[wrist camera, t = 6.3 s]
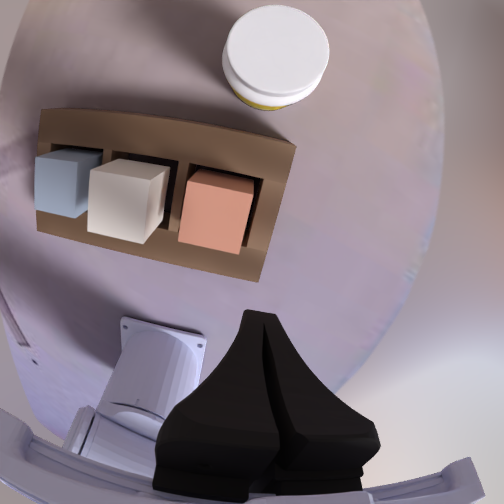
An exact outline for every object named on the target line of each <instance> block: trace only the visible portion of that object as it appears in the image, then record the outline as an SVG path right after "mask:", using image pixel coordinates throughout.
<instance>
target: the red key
mask: <svg viewBox="0 0 504 504" xmlns="http://www.w3.org/2000/svg"><path fill="white" fill-rule="evenodd" d="M253 195H254V180H251V179H246V178H242V177H237V176H233V175H228V174H224V173H219V172H214V171H209V170H204V169H199V170H198V171H197V172H196V173H195V174H194V175H193V176H192V177H191V178H190V179H189V180H188V181H187V187H186V193H185V198H184V204H183V210H182V217H181V223H180V230H179V237H178V241H179V242H183V243H188V244H192V245H197V246H202V247H206V248H211V249H215V250H220V251H225V252H229V253H234V254H238V255H239V252H240V248H241V244H242V240H243V235H244V231H245V227H246V223H247V219H248V215H249V211H250V207H251V203H252V199H253Z"/></svg>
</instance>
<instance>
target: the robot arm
mask: <svg viewBox="0 0 504 504" xmlns="http://www.w3.org/2000/svg"><path fill="white" fill-rule="evenodd" d="M125 325H126V326H127V327H126V326H125ZM120 328H121V346H122V353H121V355H120V357H119V360H118V362H117V364H116V366H115V368H114V371H113V373H112V375H111V377H110V379H109V382H108V384H107V386H106V389H105V391H104V393H103V396H102V398H101V400H100V403H99V405H98V406H97V408H96V410H95V409H94V408H93V407H91V406H89V405H88V406H86V408H85V407H82V408H79V410H78V412H77V414H76V416H75V418H74V421H73V423H72V425H71V427H70V430H69V432H68V434H67V437H66V439H65V441H64V444H63V446H62V448H61V447H59V446H57V445H55V444H53V443H50V442H48V441H46V440H44V439H42V438H40V437H38V436H36V435H34V434H33V432H32V430H31V429H30V427H29V426H28V425H27V424H26V423H25V422H23V421H22V420H20V419H19V418H17V417H15V416H13V415H12V414H10V413H8V412H6V411H5V410H3V409H1V408H0V481H1V482H3V483H4V484H5V485H7V486H8V487H10V488H12V489H13V490H15V491H17V492H18V493H20V494H21V495H23V496H25V497H27V498H28V499H30V500H32V501H34V502H36V503H37V504H474V503H476V502H478V501H479V500H481V499H483V498H484V497H485V493H484V490H483V488H482V485H481V482H480V480H479V477H478V475H477V472H476V469H475V467H474V465H473V462H472V460H471V457H467V458H464V459H461V460H458V461H455V462H453V463H451V464H450V465H448V466H446V467H445V468H444V469H443V470H442V471H441V472H438V473H434V474H431V475H427V476H423V477H419V478H416V479H411V480H407V481H403V482H398V483H393V484H388V485H382V486H377V487H371V488H364V489H362V484H361V479H360V477H362V476H363V474H364V473H363V468H362V466H363V465H364V464H365V463H367V462H368V461H369V460H370V459H371V458H372V457H374V455H375V454H376V453H377V452H378V451H379V449H380V446H381V445H380V441H379V438H378V433H377V430H376V428H375V425H374V423H373V422H372V421H370V420H369V419H367V418H365V417H364V416H362V415H361V414H359V413H358V412H356V411H355V410H353V409H352V408H350V407H349V406H348V405H346V404H345V403H344V402H342V401H341V400H340V399H339V398H338V397H337V396H335V395H334V394H333V393H332V392H331V391H330V390H329V389H328V388H327V387H326V386H325V385H324V384H323V383H322V382H321V381H320V380H319V379H318V378H317V377H316V376H315V374H314V373H313V372H312V371H311V370H310V369H309V367H308V366H307V365H306V363H305V362H304V361H303V359H302V358H301V357H300V355H299V354H298V352H297V351H296V349H295V347H294V346H293V344H292V342H291V341H290V339H289V337H288V336H287V334H286V332H285V330H284V328H283V327H282V325H281V323H280V321H279V319H278V317H277V315H276V314H272V313H266V312H260V311H254V310H249V309H247V310H245V311H244V312H243V316H242V320H241V324H240V328H239V331H238V334H237V336H236V338H235V340H234V342H233V343H232V345H231V347H230V348H229V350H228V352H227V353H226V355H225V356H224V358H223V359H222V360H221V362H220V363H219V364H218V366H217V367H216V368H215V369H214V370H213V372H212V373H211V374H210V375H209V376H208V377H207V378H206V379H205V380H204V381H203V382H202V383H201V384H200V385H199V386H198V383H199V378H200V372H201V367H202V362H203V357H204V352H205V347H206V342H207V339H206V337H205V336H203V335H199V334H194V333H190V332H185V331H181V330H176V329H172V328H168V327H164V326H160V325H156V324H152V323H148V322H144V321H140V320H136V319H133V318H129V317H122V318H121V320H120ZM199 344H202V345H199ZM94 410H95V411H94Z"/></svg>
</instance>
